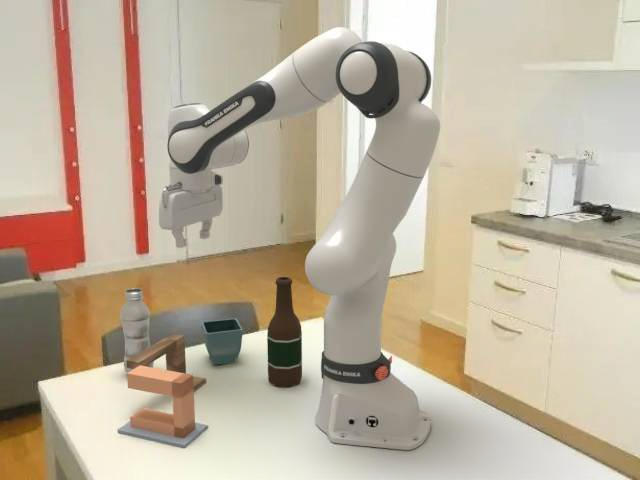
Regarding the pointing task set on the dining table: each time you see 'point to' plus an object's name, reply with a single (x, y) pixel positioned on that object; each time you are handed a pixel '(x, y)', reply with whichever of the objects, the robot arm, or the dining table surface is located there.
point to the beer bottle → (284, 339)
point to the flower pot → (222, 340)
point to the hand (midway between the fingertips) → (193, 242)
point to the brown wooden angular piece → (174, 357)
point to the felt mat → (163, 435)
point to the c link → (167, 385)
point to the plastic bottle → (135, 325)
